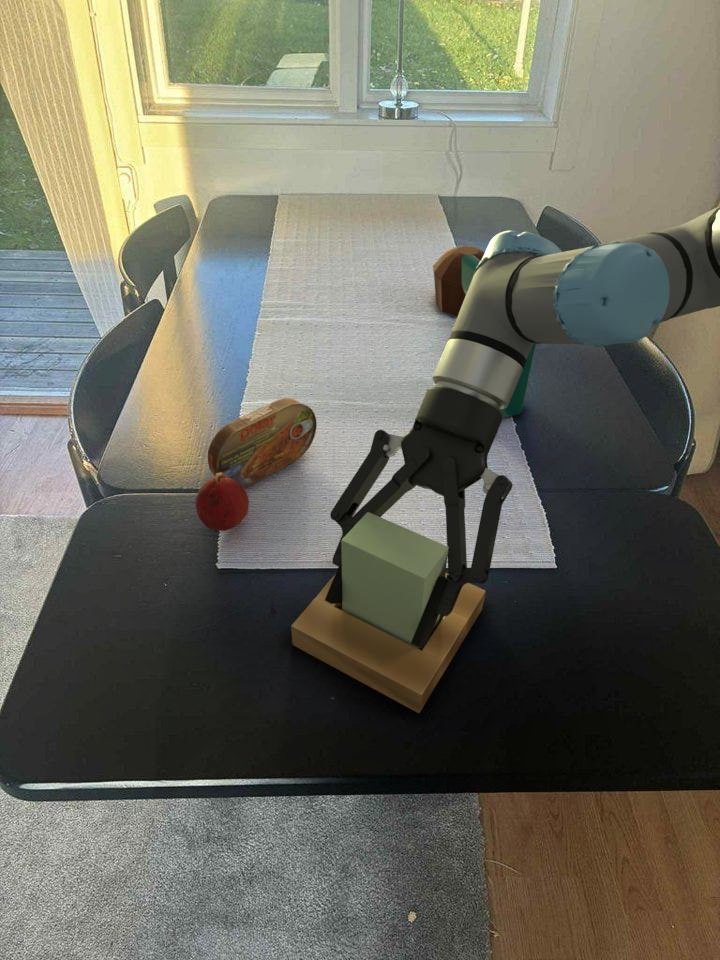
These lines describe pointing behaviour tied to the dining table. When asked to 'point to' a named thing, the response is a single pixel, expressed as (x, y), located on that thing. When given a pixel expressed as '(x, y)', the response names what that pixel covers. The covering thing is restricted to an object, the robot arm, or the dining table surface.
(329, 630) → the mount block
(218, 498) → the onion
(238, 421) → the tin
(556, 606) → the dining table surface
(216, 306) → the dining table surface
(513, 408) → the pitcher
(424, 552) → the pale green block
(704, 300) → the robot arm
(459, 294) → the brown wooden arched block
